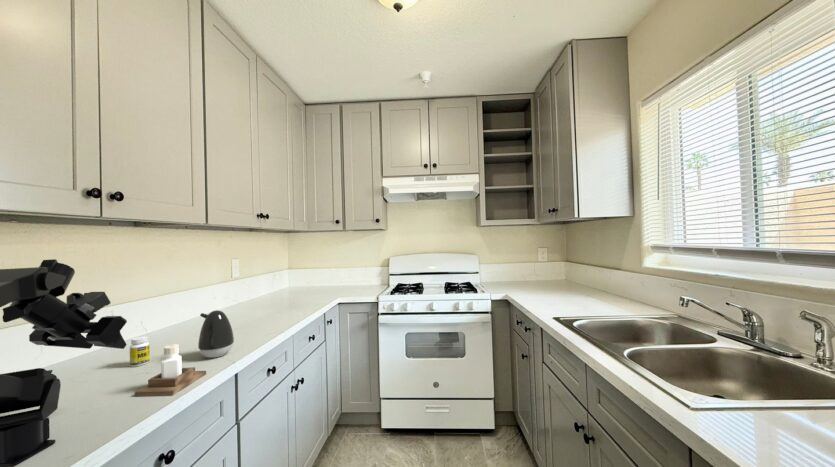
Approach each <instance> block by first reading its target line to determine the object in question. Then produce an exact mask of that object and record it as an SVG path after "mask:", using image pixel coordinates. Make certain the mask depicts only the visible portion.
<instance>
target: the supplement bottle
mask: <svg viewBox="0 0 835 467" xmlns="http://www.w3.org/2000/svg"><path fill="white" fill-rule="evenodd" d="M130 343H131V344H130V345H129V366H130V367H133V368H136V367H141V366H144V365H146V364H148V363H150V359H151V358H150V342H149V338H148V336H147V335H145V336H138V337H134V338H132V339H131V340H130Z"/></svg>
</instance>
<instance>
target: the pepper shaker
mask: <svg viewBox="0 0 835 467" xmlns="http://www.w3.org/2000/svg"><path fill="white" fill-rule="evenodd" d="M179 346H180V345H179V344H178V343H177V344H168V345H165V346H163V357H164V358H162V359H161V362H160V364H161V365H160V366H161V367H160V368H161V369H160V370H161V374H162V378H175V377H177V376H179V375H180V374H182V368H183V365H182V364H183V363H182V360H183V359H182V355H180V354H179V351H180V350H179V348H180V347H179Z"/></svg>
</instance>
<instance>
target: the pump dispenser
mask: <svg viewBox="0 0 835 467" xmlns="http://www.w3.org/2000/svg"><path fill="white" fill-rule="evenodd" d="M200 317H202V318H204V321H203V323H202V326H201V329H200V332H199V338H198V349H199V352H200V353H201V355H202V356H203V357H205V358H207V359H215V358H220V357H223V356H224V355H226V354H228V353H229V352H230V351H231V349H232V348H233V344H234V343H235V336H234V333H233V328H232V325H231V322H230V320H229V318H228V316H227V315H226V314H225V313H224V311H222V310H219V309H218V310H217V309H216V310H213V311H211V312H209V313H207V314H206V313H203V312H202V313H201V312H200Z"/></svg>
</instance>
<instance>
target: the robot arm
mask: <svg viewBox="0 0 835 467" xmlns="http://www.w3.org/2000/svg"><path fill="white" fill-rule="evenodd" d="M75 273H76V271H75V269H74V268H73V267H72V266H70V265H68V264H65V263H61V262H58V260H57V259H56V258H54V259H42V262H41V263H40V264H39V266H38V267H17V268H16V267H15V268H2V269H1V268H0V308H2V307H3V308H2V309H1V310H2V311H3V314H2V322H4V323H10V322H11V321H15V320H17V319H22V320H24V321H25V322H28V324H29V323H30V324H32V325H33V326H32V327H31V329H32V330H33V331H32V332H31V333H30V334H29V335H28V336H29V337H28V342H31V343H32V344H34V345H37V346H45V347H47V346H48V347H56V348H57V347H58V348H59V347H60V348H71V349H72V348H75V349H89V350H90V349H91V348H92V347H100V348H101V347H102V348H110V349H118V350H119V349H121V350H124V349H125V348H126V346H127V343H126V341H125V339H124V337H123V335H122V334H121V330H122V329H123V328H124V327H125V325H127V323H128V321H127V319H126V318H124V317H123V316H121V315H106V316H101V317H100V318H99V320H98V321H92V320H94V319H95V318H96V317H97V314H96V312H98V311H100V310H101V309H102V308H105V307H107V306H109V305H110V304H111V300H110V298H109V297H108V296H107V294H106V292H105V291H89V292H84V293H81V292H72V293H70V294H68V295H66V302H65V301H63V300H61V299H60V298H58V297H60V296H63V295H65V293H66V291H67V289H68V287H69V285H70V283H71V281H73V280H72V279H73V277H74V276H75ZM8 304H9V306H6V305H8ZM4 306H6V307H4ZM83 334H86V335H85V336H84V335H83ZM53 371H54V370H53V369H50V370H49V369H48V370H47V369H46V368H41V367H38V368H32V369H25V370H17V371H12V372H7V373H0V467H13V466H16V465H18V464H21V463H22V462H23V461H25V460H27V459H29V458H31V457H32V456H34V455H37V454H38V453H39V452H42V451H43V450H45V449H46V448H48V447H50V446H52V445H53V444H55V443H56V439H50V437H51V436H50V434H51V433H50V432H51V430H50V416H51V415H52V414H53V413H54V412H56V410H57V409H58V406H59V405H58V404H59V400H60V393H61V384H62V382H61V379H60V378H59V377H57V375H56V374H54V373H53ZM32 408H35V409H32ZM26 409H27V410H26ZM28 409H30V410H28ZM22 410H26V411H22ZM18 411H20V412H18ZM12 412H16V413H12ZM7 413H10V414H7ZM11 413H12V414H11ZM2 414H6V415H2ZM1 415H2V416H1Z"/></svg>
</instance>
